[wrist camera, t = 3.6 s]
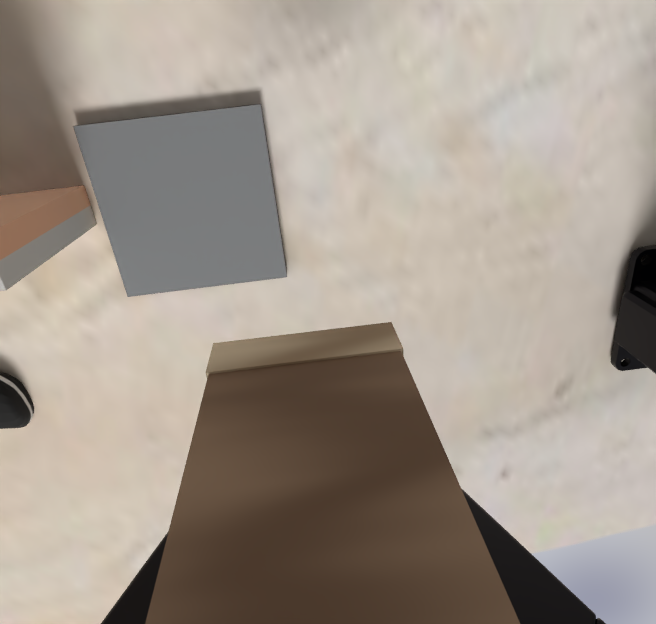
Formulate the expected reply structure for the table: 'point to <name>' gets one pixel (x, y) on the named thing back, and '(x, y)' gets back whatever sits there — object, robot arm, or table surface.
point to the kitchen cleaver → (14, 403)
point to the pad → (186, 198)
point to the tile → (39, 228)
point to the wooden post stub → (321, 495)
